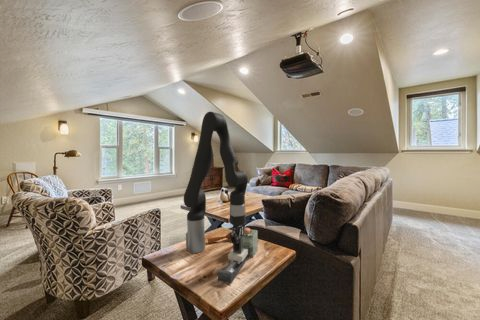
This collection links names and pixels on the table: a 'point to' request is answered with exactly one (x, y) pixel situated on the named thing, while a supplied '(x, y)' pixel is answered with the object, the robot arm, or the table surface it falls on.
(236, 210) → the robot arm
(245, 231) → the button
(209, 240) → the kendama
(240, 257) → the carriage
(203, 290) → the table surface
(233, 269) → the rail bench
